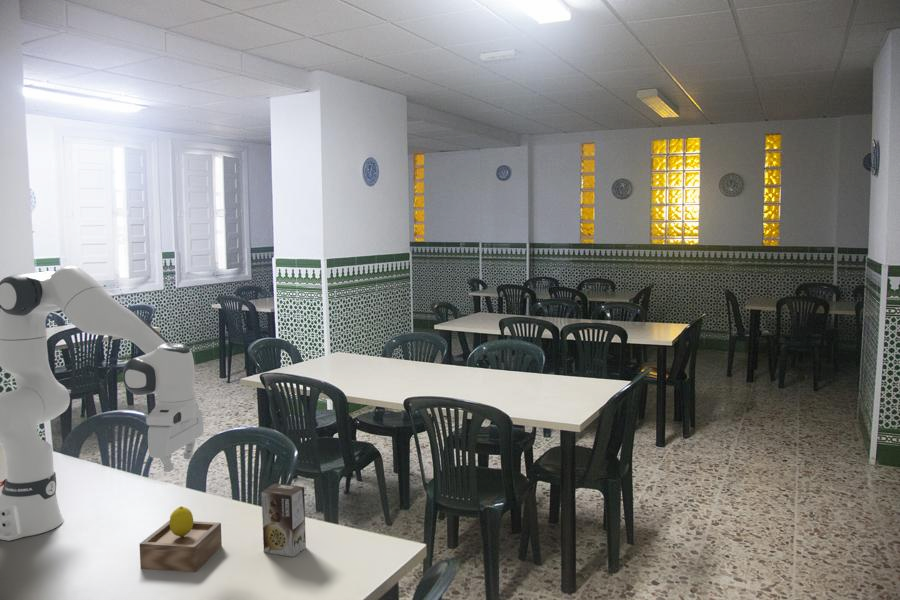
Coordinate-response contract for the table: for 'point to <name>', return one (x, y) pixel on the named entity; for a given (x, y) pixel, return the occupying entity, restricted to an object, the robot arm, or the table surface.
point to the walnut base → (180, 547)
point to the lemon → (181, 521)
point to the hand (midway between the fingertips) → (178, 464)
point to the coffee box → (283, 519)
